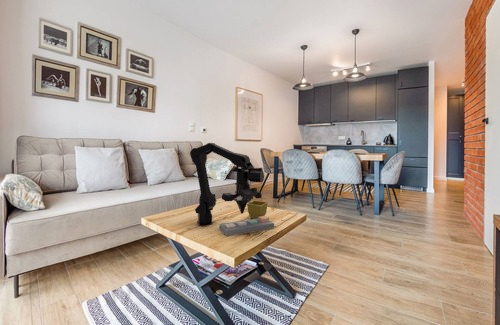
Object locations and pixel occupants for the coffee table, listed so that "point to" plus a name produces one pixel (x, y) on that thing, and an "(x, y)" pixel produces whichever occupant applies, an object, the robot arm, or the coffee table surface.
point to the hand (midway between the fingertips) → (241, 213)
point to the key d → (263, 219)
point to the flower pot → (257, 209)
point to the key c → (252, 222)
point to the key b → (241, 223)
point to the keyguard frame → (245, 227)
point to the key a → (229, 225)
